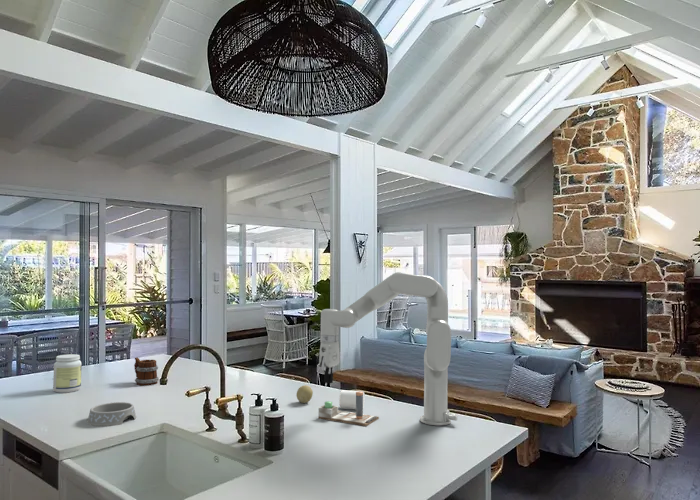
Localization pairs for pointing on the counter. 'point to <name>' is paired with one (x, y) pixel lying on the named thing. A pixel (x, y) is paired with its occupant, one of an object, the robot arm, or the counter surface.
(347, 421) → the cream tray
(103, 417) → the dog bowl
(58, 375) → the supplement tub
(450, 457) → the counter surface
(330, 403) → the button
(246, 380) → the counter surface
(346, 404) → the mug
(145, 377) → the mug
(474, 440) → the counter surface
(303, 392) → the potato
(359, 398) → the cylinder
